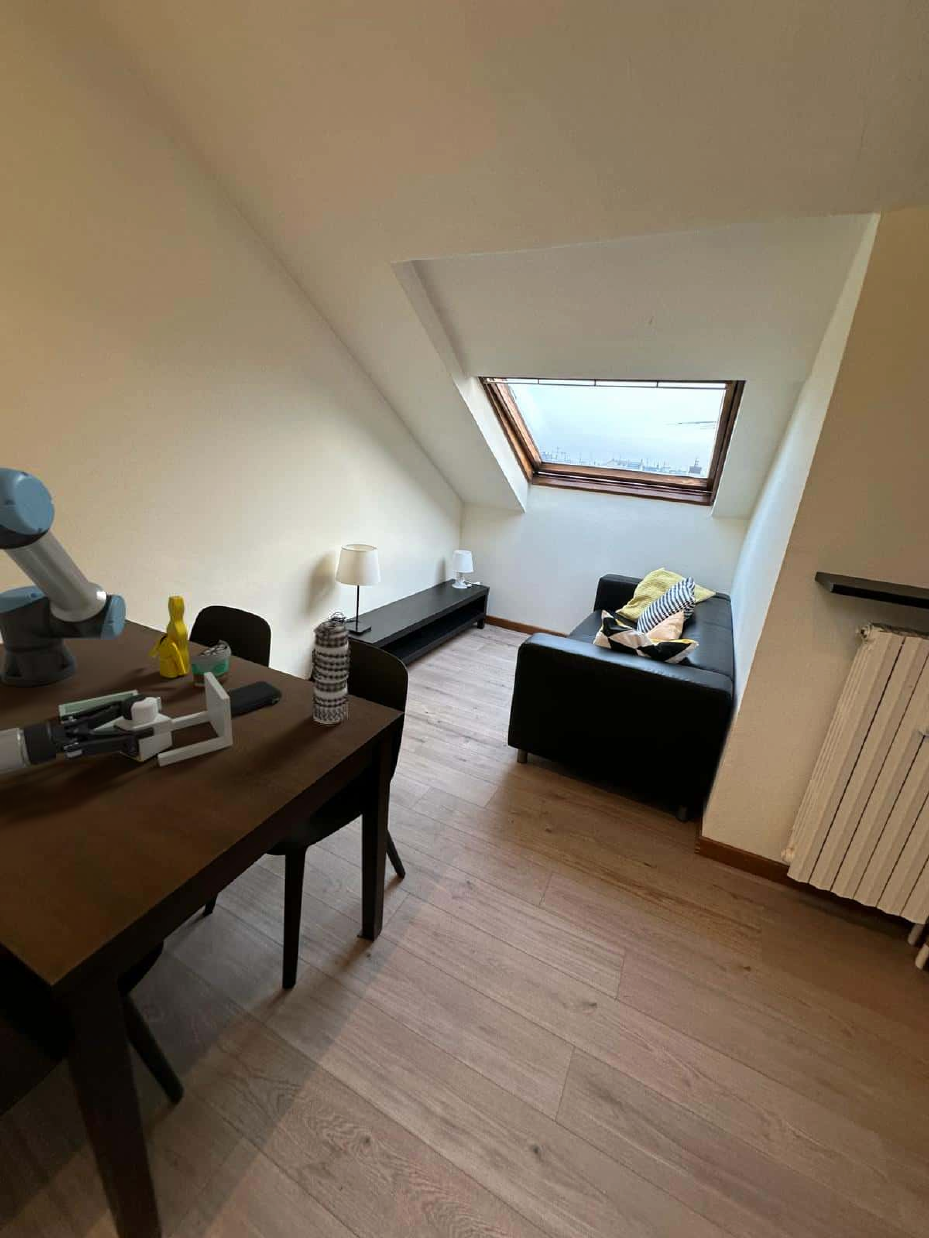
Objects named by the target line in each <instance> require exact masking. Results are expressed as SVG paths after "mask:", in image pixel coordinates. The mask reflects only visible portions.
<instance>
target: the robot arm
mask: <svg viewBox="0 0 929 1238" xmlns="http://www.w3.org/2000/svg"><path fill="white" fill-rule="evenodd" d="M52 500H53V496H51V493H50V491H49V490H48V488H47V487H46V486H45V484H44V483H43V482H42V481H41V480H40V479H39V478H38V477H36V476H35V475H33V474H31V473H30V472H26V471H23V470H21V469H20V470H19V469H18V470H17V469H12V468H8V467H3V466H0V551H3V552H5V553H6V554H7V556H8V557H9V558H10V559H11V560H12V561H13V562H14V563H15V565H17V567H19V569H21V571H22V572H23V573H24V574H25V575H26V576H27V577H28V578H29V579H30V581H31V582H32V583H34V585H27V586H21V587H17V588H12V589H8V590H5V591H3V592H1V593H0V636H1V641H2V645H3V649H4V654H3V658H2V663H1V667H0V678H1V682H2V683H3V684H5V685H7V686H12V687H35V686H42V685H48V684H53V683H56V682H59V681H62V680H64V679H66V678H68V677H70V676H72V675H74V674H75V673H76V672H77V671H78V664H77V660H76V657H75V656H74V655H73V654H72V651H70V650H69V647H68V646H67V644H66V643H65V639H69V640H71V639H72V640H73V639H74V640H101V641H103V640H114V639H116V638H118V636H120V635H121V634H122V631H123V630H124V626H125V622H126V616H127V615H126V614H127V606H126V601H125V599H124V597H123V596H122V595H118V594H115V593H114V594H107V592H106V591H105V590H104V589H103V587H101V585H99V584H98V583H95V582H92V581H89V580H88V579H87V577H86V575H84V573H83V572H82V571H81V569H80V568H79V567H78V565H77V564H76V563H75V561H74V560H73V558H71V556H70V555H69V554H68V552H67V551H66V549H65V548H63V547H64V546H62V544H61V543H60V542H59V541H58V539H57V538H56V537H55V535H54V534H53V533H52V531H51V528H52V527H51V526H52V525H53V523H54V519H55V504H53V503H52ZM156 699H157V707H158V711H160V710H162V708H163V707H162V700H161V697H160V696H157V697H156ZM122 702H123V701H122V700H120V701H112V702H109V703H106V704H103V705H100V706H96V707H93V708H90V709H87V710H83V711H80V712H77V713H73V714H67V715H63V716H61V717H60V722H61V723H60V724H57V725H54V726H51V723H50V721H41V722H37V723H32V724H28V725H25V727H23V729H20V728H19V727H13V728H9V729H5V730H0V775H1V774H8V773H12V772H14V771H19V770H22V769H26V767H27V765H28V764H30V766H34V767H35V766H39V765H42V764H46V763H50V762H54V761H55V760H57V754H61V753H63V754H64V753H66V756H67V760H68V761H75V760H78V759H81V758H84V757H91V756H97V755H105V754H110V753H116V752H117V753H118V751H124V750H130V749H132V748H133V747H134V746H136V742H135V741H137V740H140V739H144V738H148V737H152V736H155V735H159V734H162V733H166V732H170V731H171V732H173V731H174V730H173V728H172V719H173V718H171V717H169V718H168V719H164V720H160V721H155V722H151V723H147V724H143V725H139V726H135V727H133V730H119V731H94V729H96V728H98V727H100V726H102V725H104V724H107V723H109V722H111V721H113V720H115V719H117V718H119V717H122V716H123V714H122V707H121V704H122ZM75 719H76V720H75ZM124 744H125V745H124Z"/></svg>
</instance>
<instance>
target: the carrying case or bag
mask: <svg viewBox="0 0 929 1238" xmlns="http://www.w3.org/2000/svg"><path fill="white" fill-rule="evenodd" d="M225 692H226V693H227V695H228V696H229V697H230V710H231V717H232V716H233V717H236V716H240V715H243V714H245V713H248V712H250V711H253V710H255V709H257V708H260V707H263V705H264V706H266V705H269V704H274V703H276V702H277V701H279V700H280V699H281V697H282V696H283V693H282V691H281V690H280V689H278V688H277V687H276V686H273V685H272V684H270V683H269V682H266V681H264V680H260V681H256V682H253V683H251V684H247V685H243V686H241V687H239V688H236V689H233V690H230V691H225Z"/></svg>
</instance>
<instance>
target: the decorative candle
mask: <svg viewBox="0 0 929 1238" xmlns="http://www.w3.org/2000/svg"><path fill="white" fill-rule="evenodd" d="M313 633H314V634H315V635H314V636H315V637H314V638H315V639H314V648H313V650H312V651H311V658H312V659H311V663H313V664H312V674H311V675H312V676H313V678H314V682H315V683H314V690H313V691H312V692H313V693H312V698H313V700H312V702H313V704H312V715H313V716H312V717H313V718H314V719H315V720H314V719H313V718H312V719H313V720H314V721H317V722H320V723H323V724H330V723H331V724H332V722H339V720H340V719H343V717H344V716H345V715H346V713H347V714H348V713H349V711H348V709H349V702H348V701H349V690H348V683H347V679H348V677H349V675H350V671H349V670H348V669H350V666H351V665H350V663H351V658H350V657H349V656H350V655H352V651H351V650H350V649H352V646H351V644H349V640H348V637H349V636H348V634H349V633H350V629H348V627H346V626H345V625H344V624H343V623H342V622H339V621H336V620H335V621H334V620H333V621H332V620H328V621H324V622H321V623H319V625H318V626H317V627H315V628H314V629H313ZM317 722H316V723H317Z"/></svg>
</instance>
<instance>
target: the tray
mask: <svg viewBox="0 0 929 1238" xmlns="http://www.w3.org/2000/svg"><path fill="white" fill-rule="evenodd" d="M135 695H139V693H138V690H137V689H134V690H130V691H123V692H120V693H114V694H109V695H104V696H99V697H94V698H90V699H85V700H80V701H75V702H69V703H65V704H64V703H63V704H59V705H58V710H59V715H60V717H61V716H63V715H67V714H73V713H77V712H80V711H83V710H87V709H90V708H93V707H96V706H100V705H103V704H106V703H109V702H112V701H120V700H122V701H124V700H125V699H127V698H129V697H131V696H135ZM121 719H123V716H122V717H119V718H117V719H115V720H113V721H111V722H109V723H107V724H104V725H102V726H100V727H98V728H96V729H94V731H114V725H113V724H114V722H116V721H119V720H121ZM75 720H76V719H75Z"/></svg>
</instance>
